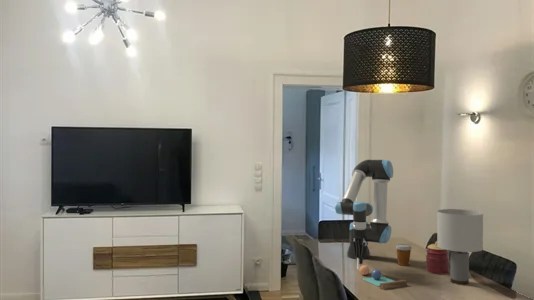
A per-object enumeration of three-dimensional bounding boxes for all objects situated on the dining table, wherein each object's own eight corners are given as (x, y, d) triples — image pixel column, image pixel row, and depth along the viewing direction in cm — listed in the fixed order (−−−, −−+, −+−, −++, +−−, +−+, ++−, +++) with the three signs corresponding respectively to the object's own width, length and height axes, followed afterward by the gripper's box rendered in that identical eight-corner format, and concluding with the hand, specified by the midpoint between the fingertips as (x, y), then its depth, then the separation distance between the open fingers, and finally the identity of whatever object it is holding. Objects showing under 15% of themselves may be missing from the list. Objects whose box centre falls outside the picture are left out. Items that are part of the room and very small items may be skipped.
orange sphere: (361, 266, 258) (363, 276, 257) (370, 264, 260) (371, 274, 259) (356, 265, 263) (358, 275, 262) (365, 264, 265) (367, 273, 264)
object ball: (369, 268, 253) (376, 272, 248) (377, 267, 255) (384, 271, 250) (369, 277, 253) (375, 281, 248) (377, 276, 256) (383, 280, 251)
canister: (448, 269, 272) (448, 240, 272) (449, 275, 260) (450, 244, 260) (425, 267, 276) (425, 238, 276) (425, 273, 264) (425, 242, 264)
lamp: (427, 278, 253) (428, 210, 253) (458, 274, 262) (459, 208, 262) (460, 291, 232) (460, 216, 232) (492, 285, 241) (493, 213, 241)
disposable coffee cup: (412, 267, 278) (412, 247, 277) (396, 266, 279) (396, 246, 279) (410, 263, 287) (410, 244, 287) (395, 262, 289) (395, 243, 289)
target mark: (361, 279, 252) (361, 278, 252) (382, 276, 258) (382, 275, 258) (377, 286, 240) (377, 285, 240) (399, 283, 245) (399, 282, 245)
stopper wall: (379, 288, 236) (380, 283, 236) (404, 284, 243) (404, 279, 243) (382, 289, 235) (382, 284, 235) (406, 285, 241) (407, 280, 241)
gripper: (347, 227, 270) (347, 267, 271) (361, 231, 258) (360, 272, 259) (358, 226, 273) (358, 265, 274) (371, 230, 261) (371, 271, 262)
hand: (359, 269), depth 266 cm, fingers closed
